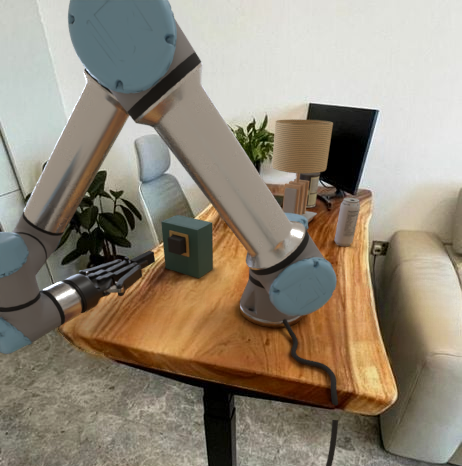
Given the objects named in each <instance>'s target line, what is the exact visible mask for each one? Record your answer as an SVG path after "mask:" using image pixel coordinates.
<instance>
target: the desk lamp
mask: <svg viewBox="0 0 462 466" xmlns="http://www.w3.org/2000/svg"><path fill="white" fill-rule="evenodd" d="M274 122H275V123H274V137H273V150H272V151H273V152H272V164H271V167H272V168H273V169H274V170H277V171H279V172H285V173H289V174H295V178H294V179H293V180H290V181H289V182H288V183H284V190H283V200H282V210H283V212H284V213H293V214H299V215H302V216H304V217H306V218H307V220H308V223H310V222H311V221H312V220H314V217H315V216H317V215H318V213H317V212H314V211H308V210H307V208H306V204H307V196H308V189H309V181H306V180H299V179H300V173H319V172H320V173H323V172H325V171H326V170H327V168H328V167H327V166H328V161H329V160H328V159H329V153H330V146H331V139H332V133H333V126H334V122H332V121H328V120H319V119H278V120H275V121H274ZM296 173H297V174H296Z"/></svg>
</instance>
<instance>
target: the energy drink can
mask: <svg viewBox="0 0 462 466" xmlns="http://www.w3.org/2000/svg"><path fill="white" fill-rule="evenodd" d="M360 209H361V204H360V199H358V198H356V197H344V198H343V200H342V202H341V203H340V206H339V212H338V218H337V222H336V228H335V235H334V242H335V245H337V246H340V247H350V246H351V244H353V243H354V238H355V233H356V228H357V223H358V218H359V214H360Z"/></svg>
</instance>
